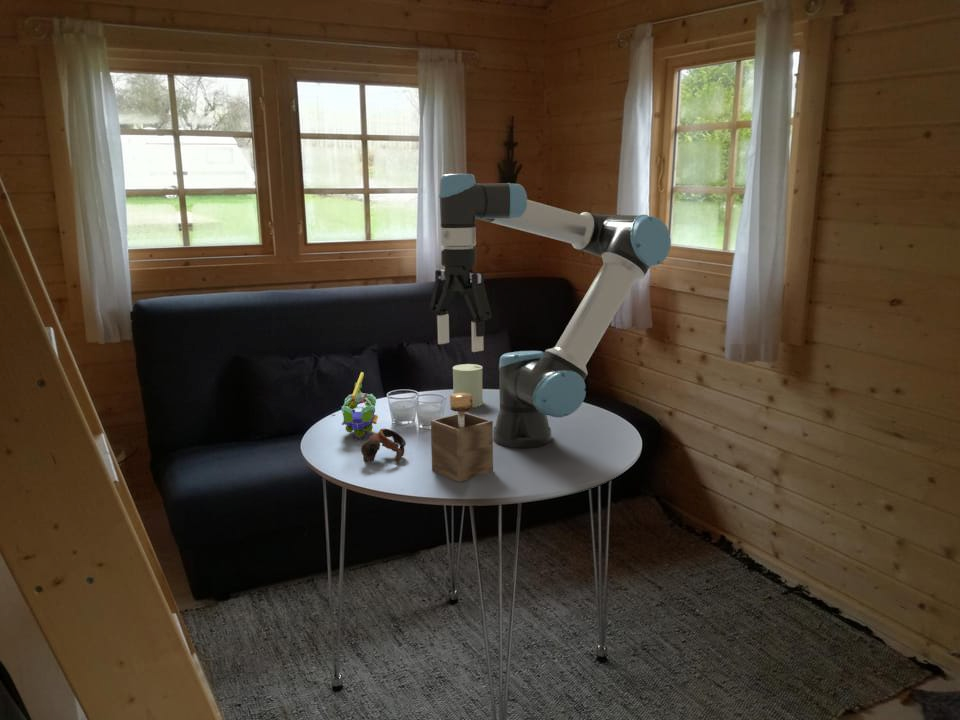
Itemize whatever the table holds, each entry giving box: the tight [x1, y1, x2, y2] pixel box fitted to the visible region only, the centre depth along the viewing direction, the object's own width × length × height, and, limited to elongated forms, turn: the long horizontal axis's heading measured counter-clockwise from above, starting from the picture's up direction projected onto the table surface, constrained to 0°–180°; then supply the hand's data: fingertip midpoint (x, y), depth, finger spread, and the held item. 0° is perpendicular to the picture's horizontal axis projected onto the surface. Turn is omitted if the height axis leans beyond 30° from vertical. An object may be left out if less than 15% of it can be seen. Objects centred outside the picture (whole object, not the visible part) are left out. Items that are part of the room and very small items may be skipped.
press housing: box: [430, 411, 494, 483], centre depth 166 cm, size 10×10×12 cm
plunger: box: [449, 393, 473, 429], centre depth 165 cm, size 8×8×16 cm
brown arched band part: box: [360, 428, 407, 463], centre depth 174 cm, size 12×10×8 cm
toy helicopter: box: [341, 371, 379, 440], centre depth 192 cm, size 25×9×15 cm, turn 4°
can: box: [452, 363, 484, 408], centre depth 221 cm, size 9×9×12 cm
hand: (460, 347), depth 161 cm, fingers open, 11 cm apart
